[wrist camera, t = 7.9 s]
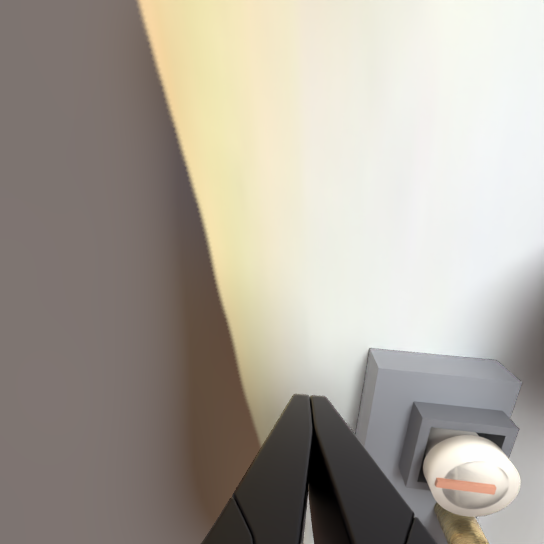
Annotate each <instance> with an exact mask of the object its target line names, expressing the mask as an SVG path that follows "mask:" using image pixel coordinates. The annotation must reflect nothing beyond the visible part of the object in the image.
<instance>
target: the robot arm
mask: <svg viewBox="0 0 544 544" xmlns="http://www.w3.org/2000/svg"><path fill="white" fill-rule="evenodd" d="M308 492H309V504H310V513H311V521H312V529H313V538H314V544H438V543H437V542H436V541H435V539H434V538H433V537H432V535H431V534H430V533H429V532H428V530H427V529H426V528H425V526H424V525H423V524H422V522H421V521H420V520H419V518H418V517H414V516H415V514H414V512H413V511H412V509H411V508H410V507H409V505H408V504H407V503H406V501H405V500H404V499H403V497H402V496H401V495H400V493H399V492H398V491H397V490H396V488H395V487H394V486H393V484H392V483H391V482H390V480H389V479H388V478H387V476H386V475H385V474H384V472H383V471H382V470H381V468H380V467H379V466H378V464H377V463H376V462H375V460H374V459H373V458H372V457H371V455H370V454H369V453H368V451H367V450H366V449H365V447H364V446H363V445H362V443H361V442H360V441H359V439H358V438H357V437H356V435H355V434H354V433H353V431H352V430H351V429H350V427H349V426H348V425H347V424H346V422H345V421H344V420H343V418H342V417H341V416H340V414H339V413H338V412H337V410H336V409H335V408H334V406H333V405H332V404H331V402H330V401H329V400H328V398H327V397H325V396H317V395H312V396H310V397H309V396H308V395H304V394H294V395H293V396H292V398H291V399H290V401H289V403H288V404H287V406H286V408H285V409H284V411H283V413H282V414H281V416H280V418H279V419H278V421H277V422H276V424H275V426H274V427H273V429H272V431H271V432H270V434H269V436H268V437H267V439H266V441H265V442H264V444H263V445H262V447H261V449H260V450H259V452H258V454H257V455H256V457H255V459H254V460H253V462H252V464H251V465H250V467H249V468H248V470H247V472H246V474H245V475H244V477H243V478H242V480H241V482H240V483H239V485H238V487H237V488H236V490H235V492H234V493H233V496H232V498H230V499H229V501H228V503H227V504H226V506H225V508H224V509H223V511H222V512H221V514H220V516H219V517H218V519H217V520H216V522H215V523H214V525H213V527H212V528H211V530H210V531H209V533H208V534H207V536H206V537H205V539H204V540H203V542H202V543H201V544H303V540H304V529H305V519H306V509H307V498H308Z"/></svg>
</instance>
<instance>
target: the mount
mask: <svg viewBox="0 0 544 544" xmlns="http://www.w3.org/2000/svg"><path fill="white" fill-rule="evenodd" d="M521 385H522V382H521V381H520V380H519V379H518V378H516V377H515V376H514V375H513V374H512V373H511V372H510V371H508V370H507V369H506V368H505V367H504V366H503V365H502V364H500V363H499V362H498V361H497V360H488V359H478V358H467V357H457V356H447V355H436V354H426V353H415V352H405V351H395V350H384V349H374V348H370V350H369V356H368V362H367V368H366V374H365V380H364V386H363V392H362V398H361V404H360V410H359V416H358V422H357V428H356V434H355V435H356V437H357V438H358V439H359V441H360V442H361V443H362V445H363V446H364V447H365V449H366V450H367V451H368V453H369V454H370V455H371V457H372V458H373V459H374V460H375V462H376V463H377V464H378V466H379V467H380V468H381V470H382V471H383V472H384V474H385V475H386V476H387V478H388V479H389V480H390V482H391V483H392V484H393V486H394V487H395V488H396V490H397V491H398V492H399V493H400V495H401V496H402V497H403V499H404V500H405V501H406V503H407V504H408V505H409V507H410V508H411V509H412V511H413V512H414V514H415V516H414V517H418V518H419V520H420V521H421V522H422V524H423V525H424V526H425V528H426V529H427V530H428V532H429V533H430V534H431V535H432V537H433V538H434V539H435V541H436V542H437V543H438V544H448V543H447V541H446V538H445V536H444V533H443V531H442V529H441V526H440V524H439V521H438V519H437V517H436V514H435V512H434V506H435V504H436V502H437V501H436V500H435V499H434V497H433V495H432V492H431V490H430V488H429V485H428V483H427V481H426V478H425V476H424V473H423V463H424V459H425V457H426V456H425V453H424V452H425V448H426V444H427V440H428V436H429V433H430V429H431V427H433V428H442V429H451V430H459V431H468V432H476V433H477V434H478V436H480V437H483V438H486V439H488V440H490V441H492V442H494V443H495V444H496V445H498V446H499V447H500V449H501V450H502V451H503V452H504V454H505V455H506V456H507V458H508V459H509V456H510V454H511V451H512V448H513V445H514V442H515V440H516V437H517V434H518V431H519V428H518V427H517V426H516V425H515V424H514V423H513V421H512V420H511V419H510V418H511V415H512V412H513V409H514V406H515V403H516V400H517V397H518V394H519V391H520V388H521ZM475 518H477V517H475Z"/></svg>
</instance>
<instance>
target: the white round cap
mask: <svg viewBox="0 0 544 544" xmlns="http://www.w3.org/2000/svg"><path fill="white" fill-rule="evenodd" d="M424 453H425V456H426V457H425V459H424V463H423V473H424V476H425V478H426V481H427V483H428V485H429V488H430V490H431V492H432V495H433V497H434V499H435V500H436V501H437V503H438V504H439V505H440V506H441V507H443V508H444V509H445V510H447V511H449V512H451V513H454V514H457V515H461V516H468V517H478V516H485V515H489V514H493V513H495V512H498V511H500V510H502V509H504V508H505V507H507V506H508V505H509V504H510V503H511V502H512V501H513V500H514V499H515V498H516V496H517V494H518V492H519V489H520V484H521V481H520V476H519V473H518V471H517V469H516V468H515V467H514V465H513V464H512V463H511V461H510V460H509V459H508V458H507V456H506V455H505V454H504V452H503V451H502V450H501V449H500V447H499V446H498V445H496V444H495V443H494V442H492V441H490V440H488V439H486V438H483V437H480V436H478V434H477V433H476V432H468V431H459V430H451V429H442V428H433V427H431V429H430V433H429V436H428V440H427V444H426V448H425V452H424Z"/></svg>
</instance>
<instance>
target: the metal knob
mask: <svg viewBox="0 0 544 544" xmlns="http://www.w3.org/2000/svg"><path fill="white" fill-rule="evenodd" d="M434 512H435V514H436V517H437V519H438V521H439V524H440V526H441V529H442V531H443V533H444V536H445V538H446V541H447V543H448V544H489V543H488V541H487V539H486V537H485V535H484V533H483V532H482V530H481V528H480V526H479V524H478V522H477V520H476V518H475V517H468V516H461V515H457V514H454V513H451V512H449V511H447V510H445V509H444V508H443V507H441V506H440V505H439V504H438V503H437V502H436V504H435V506H434Z"/></svg>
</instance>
